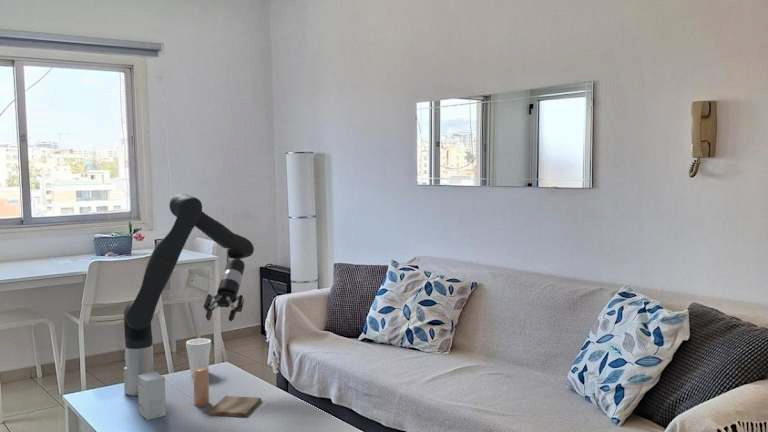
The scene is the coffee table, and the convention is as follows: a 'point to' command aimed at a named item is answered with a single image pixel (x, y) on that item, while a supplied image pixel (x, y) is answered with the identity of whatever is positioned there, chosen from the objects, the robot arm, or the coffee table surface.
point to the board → (235, 406)
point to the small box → (151, 395)
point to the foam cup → (198, 353)
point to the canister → (201, 386)
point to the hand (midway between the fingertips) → (219, 319)
